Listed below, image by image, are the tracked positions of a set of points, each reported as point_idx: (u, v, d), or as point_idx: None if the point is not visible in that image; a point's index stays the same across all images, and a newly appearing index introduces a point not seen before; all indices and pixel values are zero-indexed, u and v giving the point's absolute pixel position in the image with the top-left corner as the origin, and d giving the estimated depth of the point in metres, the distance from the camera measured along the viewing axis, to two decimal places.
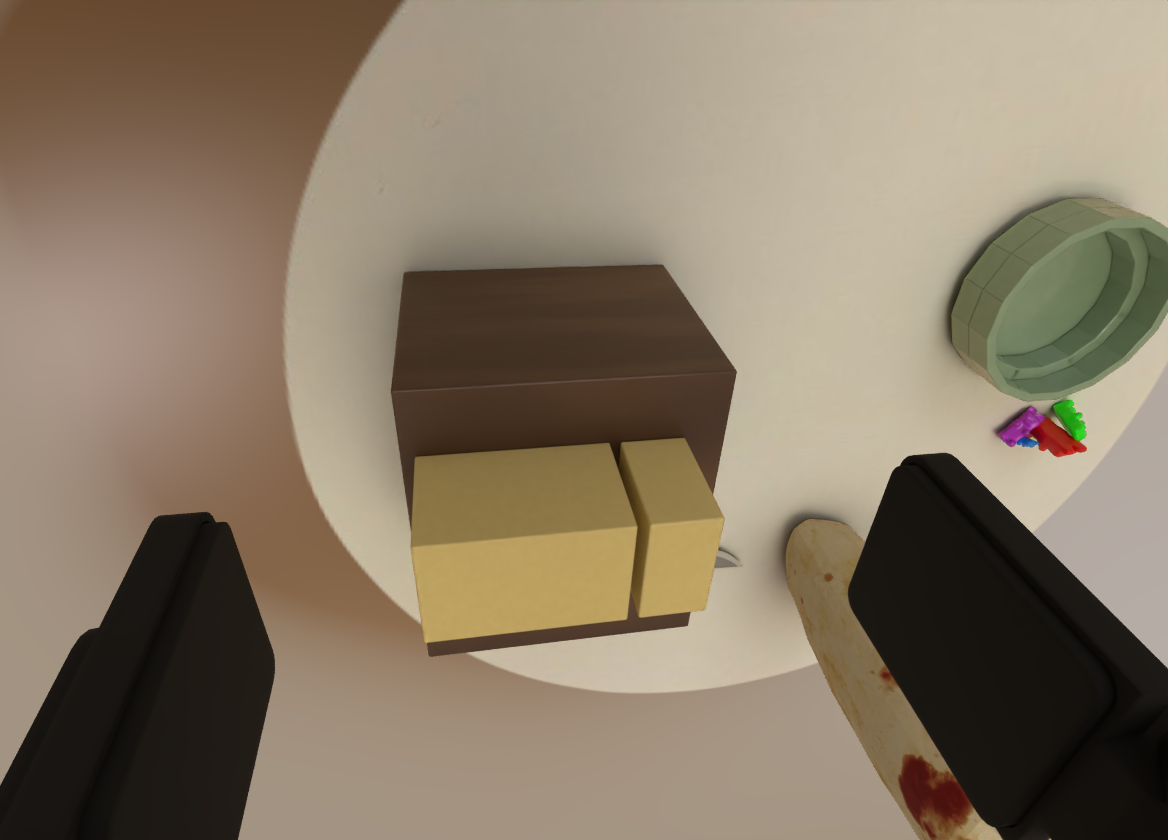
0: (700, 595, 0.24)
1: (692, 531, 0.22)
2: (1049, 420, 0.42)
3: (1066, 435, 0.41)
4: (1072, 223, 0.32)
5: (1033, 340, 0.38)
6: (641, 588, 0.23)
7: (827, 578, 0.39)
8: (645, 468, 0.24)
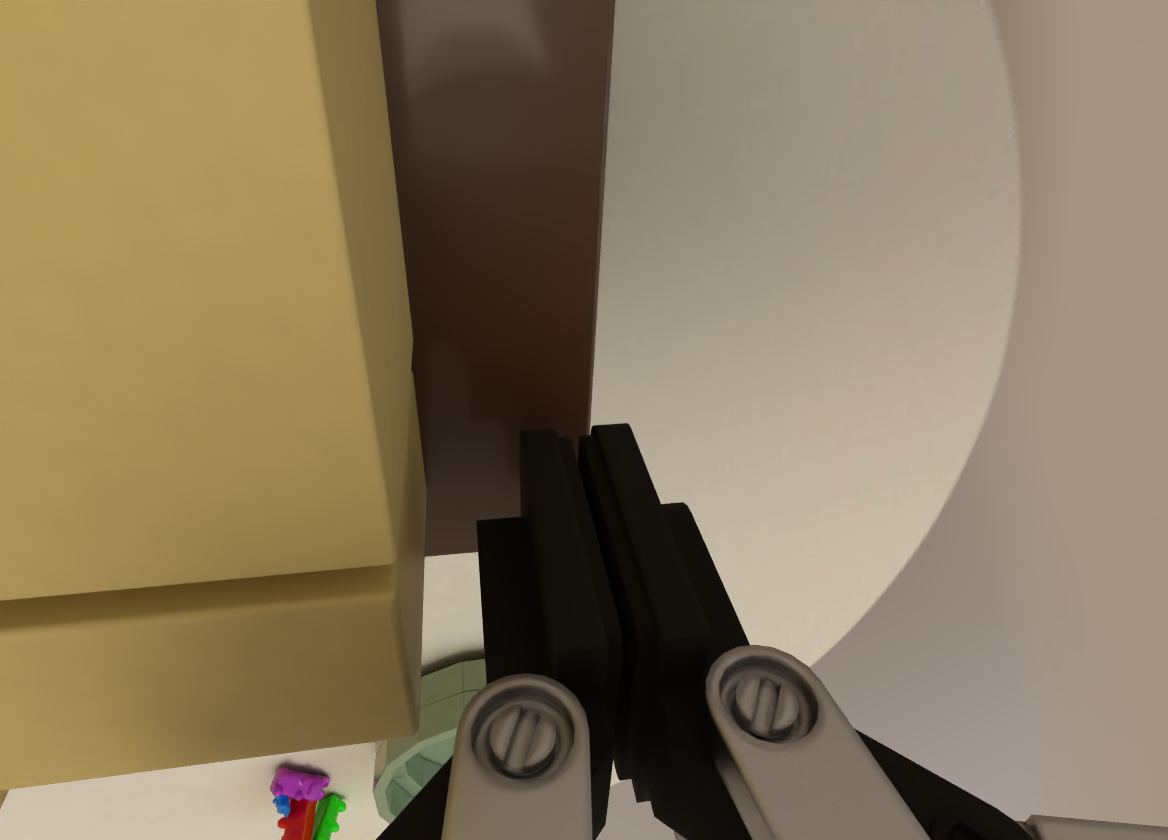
0: (69, 766, 0.07)
1: (368, 690, 0.07)
2: (316, 803, 0.33)
3: (310, 836, 0.32)
4: None
5: None
6: (53, 620, 0.06)
7: None
8: (411, 461, 0.09)
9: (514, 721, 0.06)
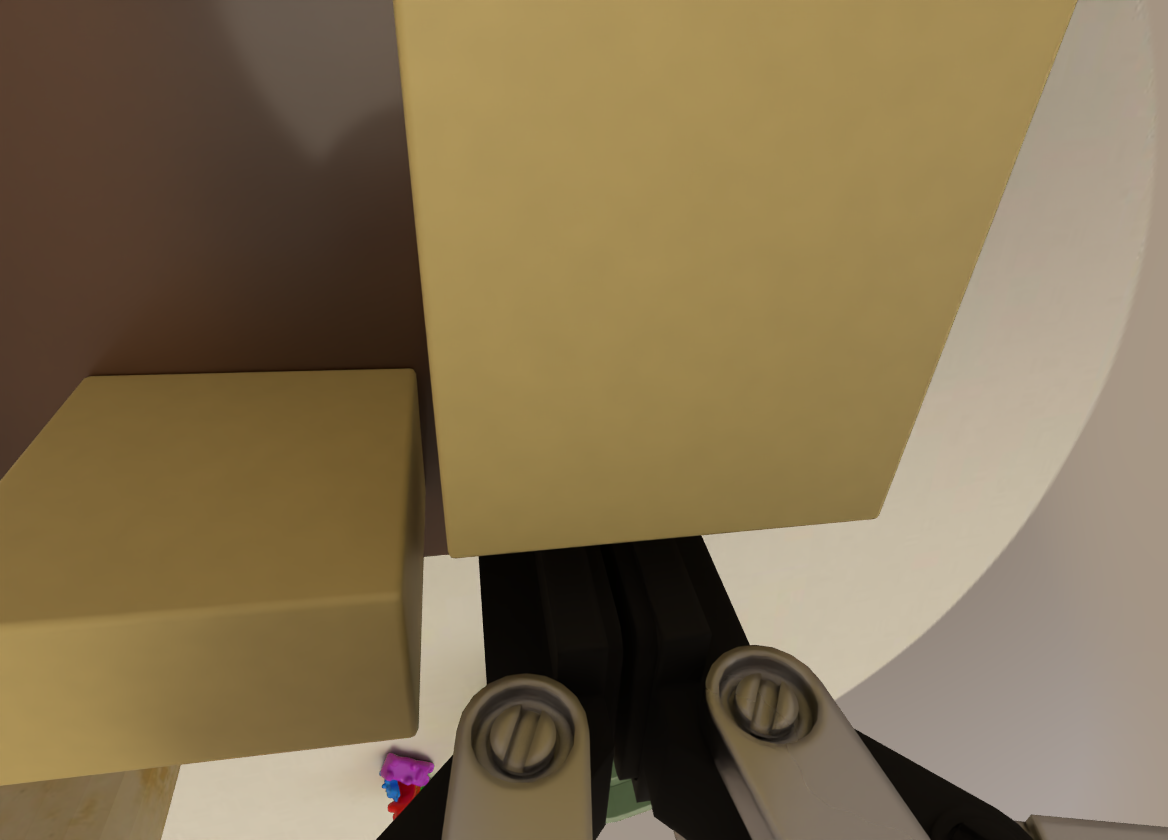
0: (65, 763, 0.07)
1: (369, 691, 0.07)
2: (420, 788, 0.34)
3: None
4: None
5: None
6: (56, 615, 0.06)
7: None
8: (414, 462, 0.09)
9: (515, 721, 0.06)
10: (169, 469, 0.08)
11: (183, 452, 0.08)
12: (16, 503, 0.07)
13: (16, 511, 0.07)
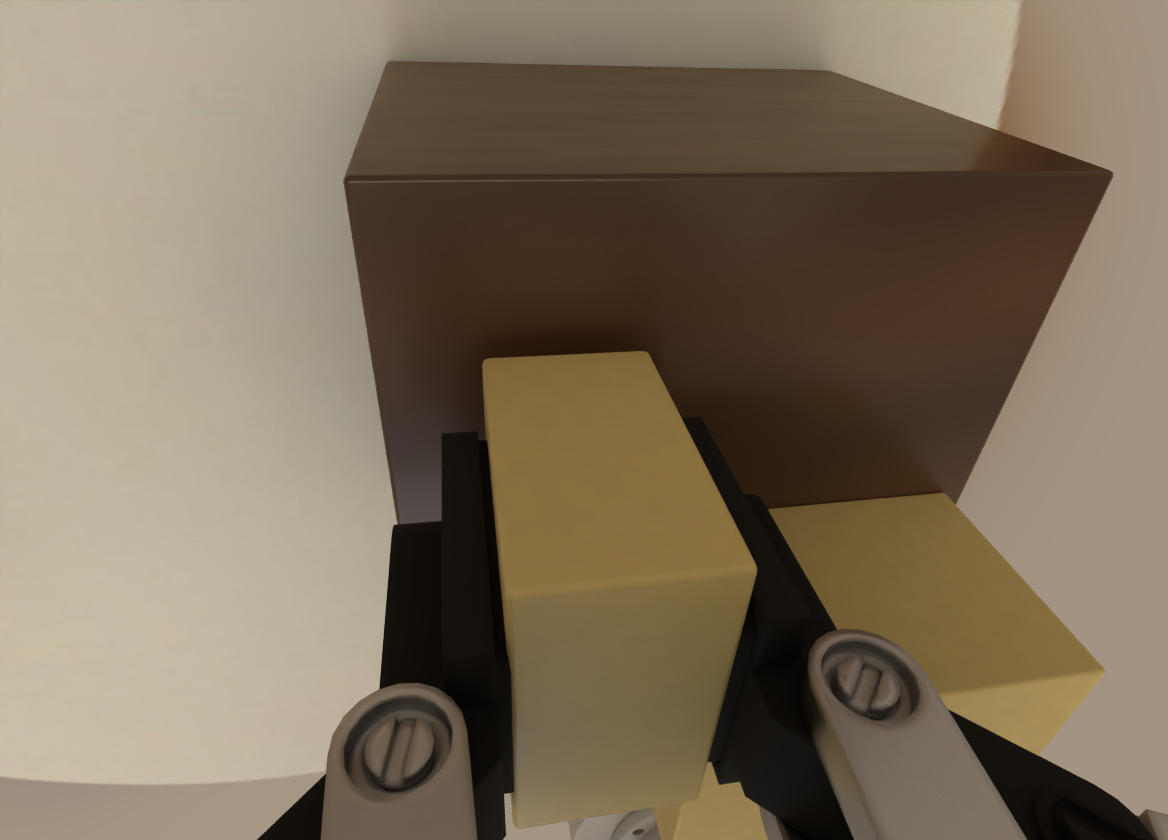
0: (540, 650, 0.07)
1: (596, 802, 0.09)
2: None
3: None
4: None
5: None
6: None
7: None
8: None
9: (389, 734, 0.06)
10: None
11: None
12: None
13: None
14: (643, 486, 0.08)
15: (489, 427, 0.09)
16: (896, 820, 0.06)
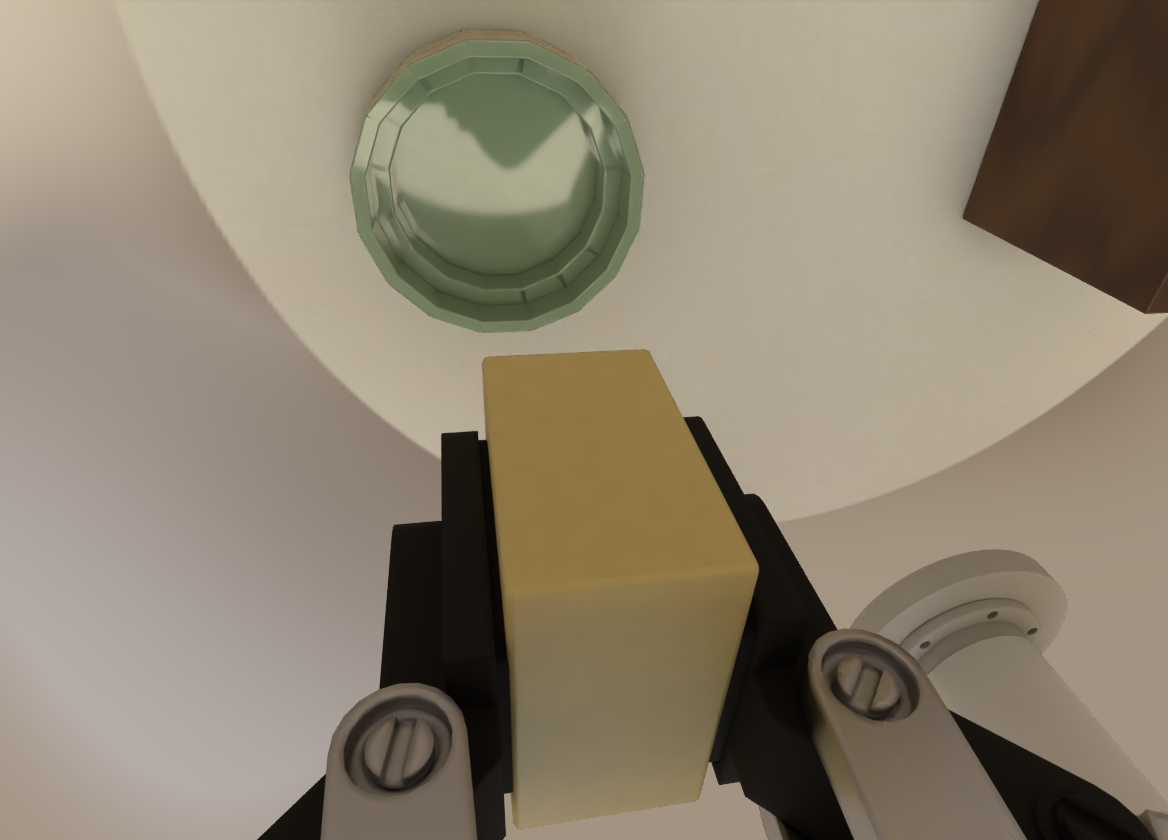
0: (540, 649, 0.07)
1: (596, 803, 0.09)
2: None
3: None
4: None
5: (467, 94, 0.24)
6: None
7: None
8: None
9: (390, 734, 0.06)
10: None
11: None
12: None
13: None
14: (644, 485, 0.08)
15: (489, 425, 0.08)
16: (896, 820, 0.06)
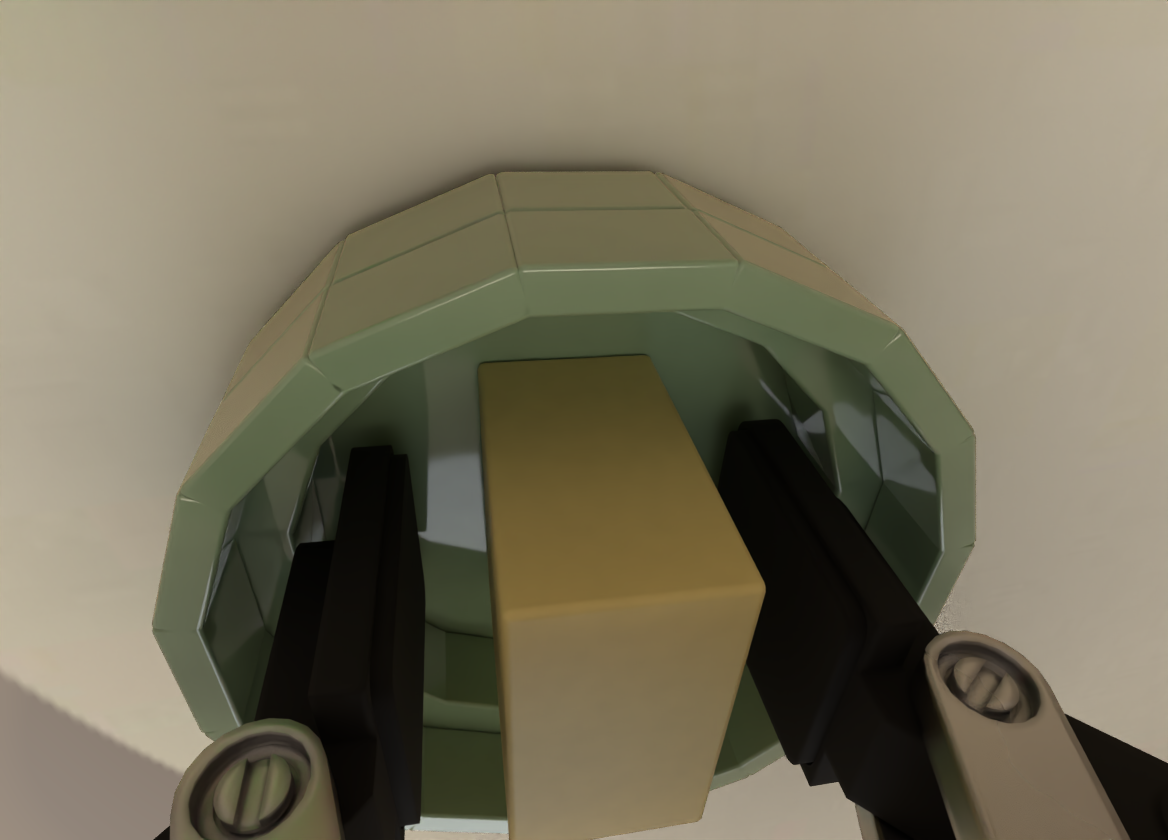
0: (537, 672, 0.06)
1: (595, 825, 0.08)
2: None
3: None
4: None
5: None
6: None
7: None
8: None
9: (241, 777, 0.06)
10: None
11: None
12: None
13: None
14: (646, 499, 0.07)
15: (485, 435, 0.08)
16: (998, 810, 0.06)
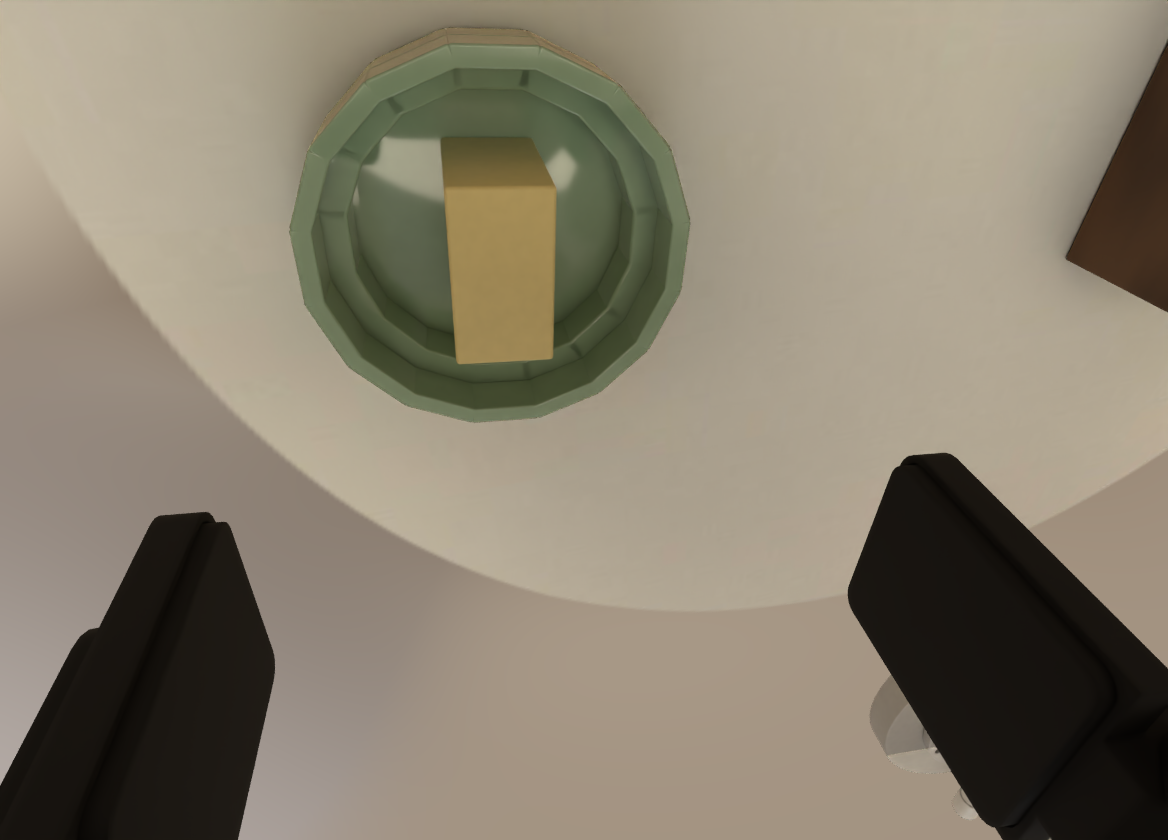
0: (461, 225, 0.15)
1: (497, 348, 0.17)
2: None
3: None
4: None
5: (452, 114, 0.18)
6: (554, 246, 0.16)
7: None
8: None
9: None
10: None
11: None
12: None
13: None
14: (513, 169, 0.16)
15: (442, 156, 0.17)
16: None
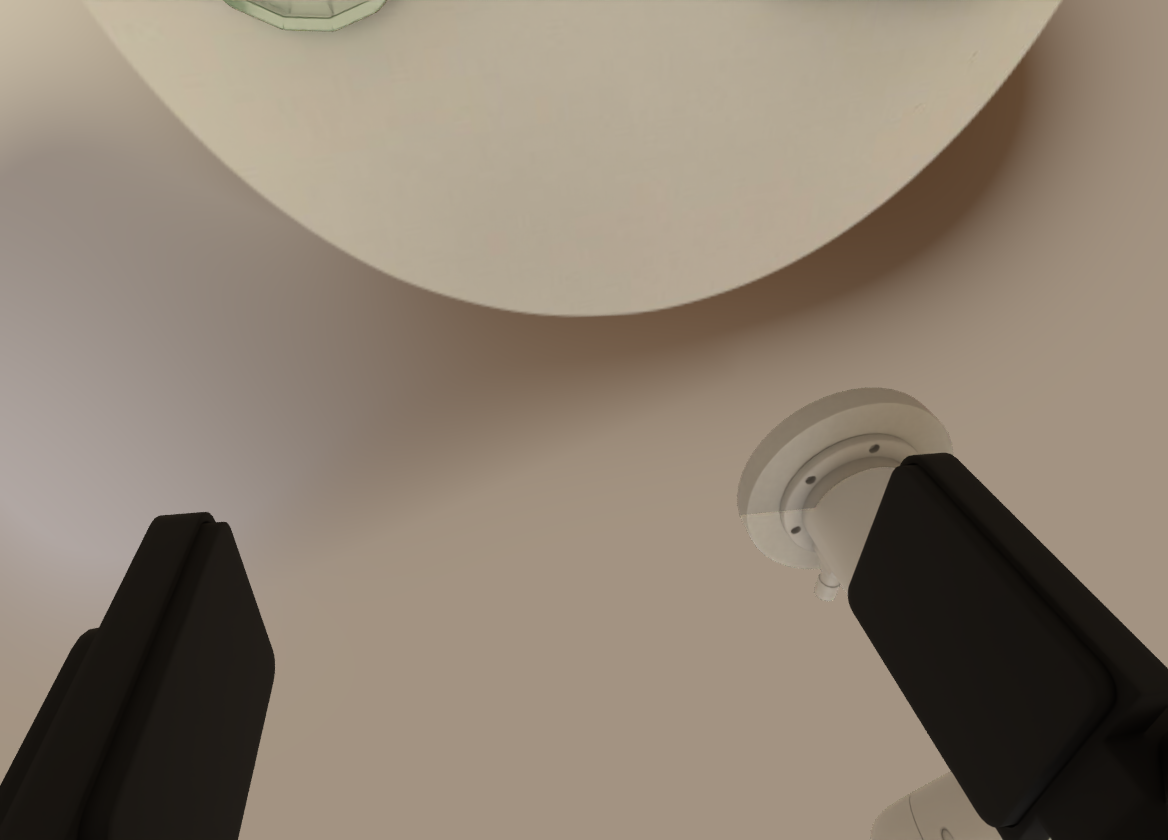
0: None
1: None
2: None
3: None
4: None
5: None
6: None
7: None
8: None
9: None
10: None
11: None
12: None
13: None
14: None
15: None
16: None
